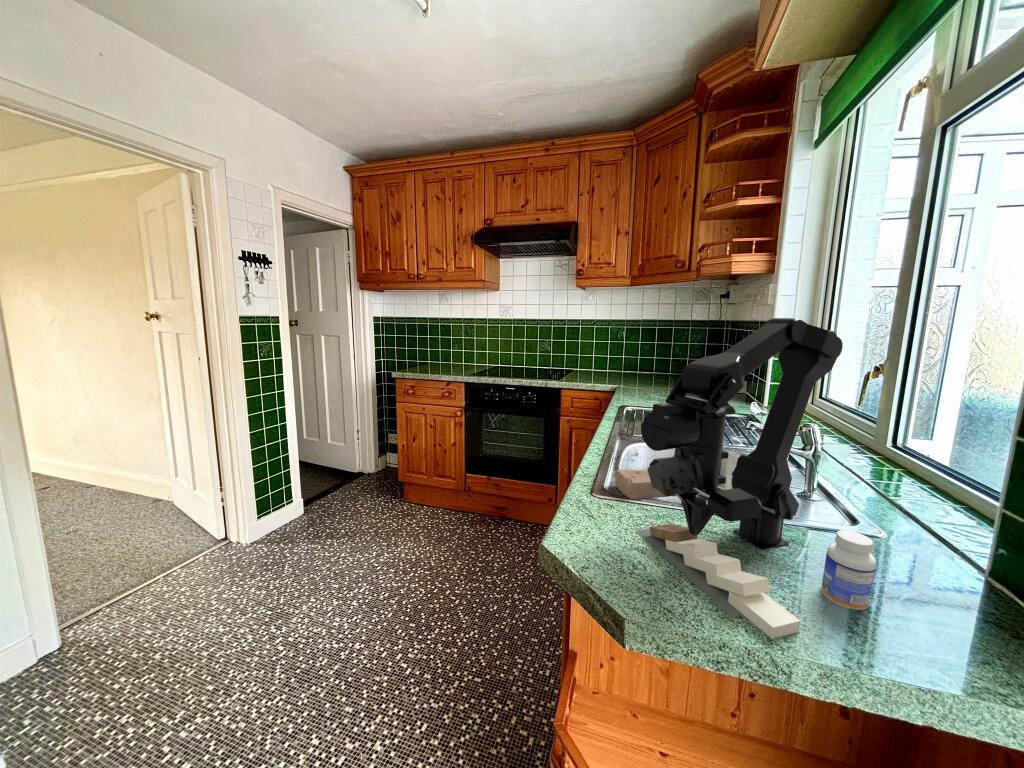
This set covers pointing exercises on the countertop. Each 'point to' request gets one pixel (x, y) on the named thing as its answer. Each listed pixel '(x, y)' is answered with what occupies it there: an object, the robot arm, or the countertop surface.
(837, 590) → the pill bottle
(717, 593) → the mat
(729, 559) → the tile
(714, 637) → the countertop surface
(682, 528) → the walnut domino
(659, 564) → the countertop surface
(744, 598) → the tile
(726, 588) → the tile
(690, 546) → the tile
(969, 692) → the countertop surface
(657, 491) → the brick
